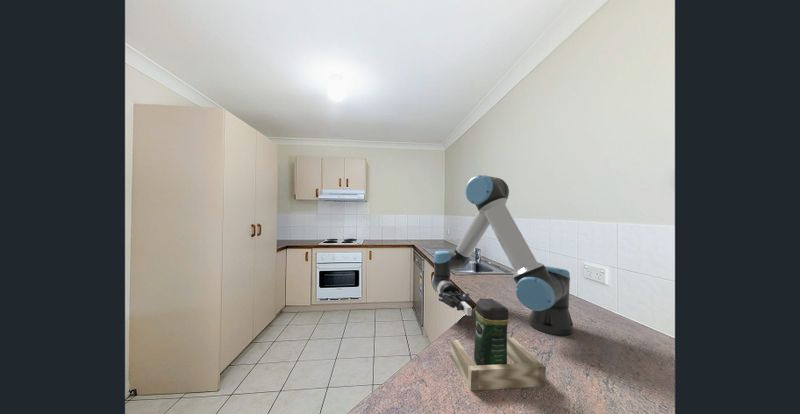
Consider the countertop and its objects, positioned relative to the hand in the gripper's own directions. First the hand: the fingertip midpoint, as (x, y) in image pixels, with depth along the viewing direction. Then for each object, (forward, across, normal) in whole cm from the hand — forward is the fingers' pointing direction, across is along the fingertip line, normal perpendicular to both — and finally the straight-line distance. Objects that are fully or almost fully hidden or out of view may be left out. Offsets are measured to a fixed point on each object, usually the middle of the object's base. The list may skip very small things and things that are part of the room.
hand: (469, 311), depth 98 cm
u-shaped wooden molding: (+19, 0, -10) cm, 21 cm away
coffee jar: (+17, 0, -10) cm, 19 cm away
